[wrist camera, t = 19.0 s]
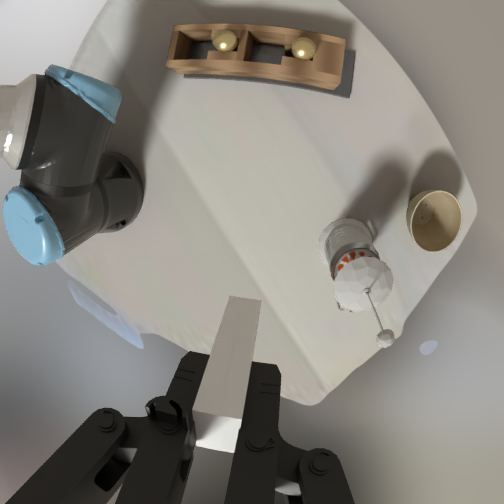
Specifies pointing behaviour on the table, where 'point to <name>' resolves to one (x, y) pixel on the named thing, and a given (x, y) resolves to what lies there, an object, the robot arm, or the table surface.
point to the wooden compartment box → (239, 63)
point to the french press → (356, 270)
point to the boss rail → (271, 61)
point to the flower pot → (434, 220)
